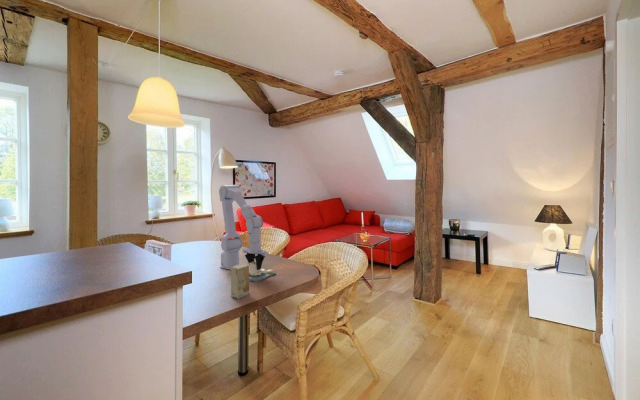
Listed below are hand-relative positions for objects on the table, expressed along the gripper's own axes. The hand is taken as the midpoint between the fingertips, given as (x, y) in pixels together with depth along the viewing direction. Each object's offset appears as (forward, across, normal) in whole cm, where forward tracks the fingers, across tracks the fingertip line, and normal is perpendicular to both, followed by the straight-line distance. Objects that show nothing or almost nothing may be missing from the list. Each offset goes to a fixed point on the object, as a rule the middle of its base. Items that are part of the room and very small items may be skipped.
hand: (255, 268), depth 149 cm
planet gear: (+2, 0, 0) cm, 2 cm away
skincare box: (+4, +12, -22) cm, 25 cm away
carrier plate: (+3, 0, 0) cm, 3 cm away
